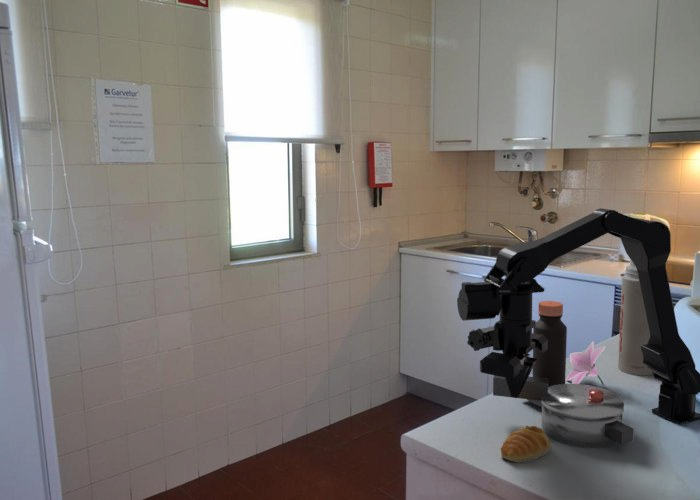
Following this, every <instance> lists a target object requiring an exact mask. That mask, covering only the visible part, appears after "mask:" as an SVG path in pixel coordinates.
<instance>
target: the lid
mask: <svg viewBox="0 0 700 500" xmlns="http://www.w3.org/2000/svg"><path fill="white" fill-rule="evenodd" d="M492 378H493V379H492V381H493V382H492V384H493V385H492V396H495V397H504V398H512V397H511V394H510V391H509V388H508V385H507V382H506V378H505V377H500V376H495V375H493V377H492ZM517 399H522V400H523V399H524V400H527V399H530V400H539V401H541V402H542V404H543V405H544V406H545V407H546V408H547V409H549V410H550V411H552V412H554V413H556V414H559V415H562V416H565V417H569V418H574V419H580V420H591V421H599V420H609V419H613V418H616V417H618V416H620V415H621V414H622V415H623V413H624V411H625V403H624V400H623V398H622V397H620V396H619V395H618V394H616V393H615V392H612V391H610V390H607V389H605V388H603V387H598V386H594V385H590V384H583V383H582V384H581V383H579V384H572V383H565V384H559V385H553V386H550V387H548V378H540V377H532V376H530V375H529V376H528V378H527V380H526V382H525V384H524V386H523V389H522V391H521V393H520V395H519V397H518V398H517Z"/></svg>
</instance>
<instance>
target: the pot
mask: <svg viewBox="0 0 700 500" xmlns="http://www.w3.org/2000/svg"><path fill="white" fill-rule="evenodd" d="M526 400H527V401H528V402H531V403H532V404H534V405H536V406H537V407H538V406H539V407H541V429H542V430H543V431H544V432H545V433H546V436H547V437H550V438H551V439H553V440H556V441H557V442H560V443H563V444H565V445H570V446H572V447H573V446H574V447H579V448H586V449H588V448H589V449H599V448H607V447H611V446H614V445H617V444H618V445H619V446H620V445H621V446H623V445H626V444H631V443H632V442H634V433H635V432H634V430H635V428H634V427H631V426H629V425H628V424H625V423H623V413H622V414H621V415H620V416H618V417H616V418H613V419H609V420H599V421H591V420H580V419H574V418H569V417H565V416H562V415H559V414H556V413H554V412H552V411H550V410H549V409H547V408H546V407H545V406H544V405H543V404H542V402H541V401H539V400H530V399H526Z"/></svg>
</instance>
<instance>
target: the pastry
mask: <svg viewBox="0 0 700 500" xmlns="http://www.w3.org/2000/svg"><path fill="white" fill-rule="evenodd" d="M552 446H553V445H552V443H551V442H550V439H549V436H548V435H547V434H546V433H545V432H544V431H543V429H542V428H540V427H538V426H537V425H531V426H529V425H525V426H524V427H522V428H520V429H518V430H514V431H513V432H511V433H510V434H509V435H508V436H507V437H506V438H505V440H504V441H503V443H502V446H501V447H500V454H501V458H502V459H506V460H507V461H510V462H515V463H523V462H528V461H535V460H536V459H539V458H540V457H543V456H544V455H546V454H548V453H549V451H550V450H552Z"/></svg>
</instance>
